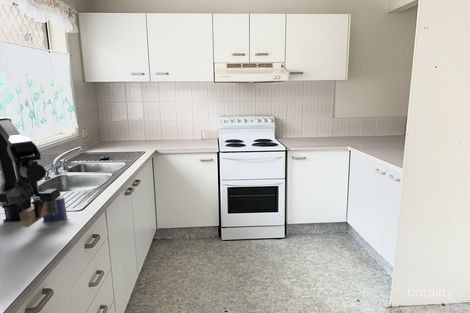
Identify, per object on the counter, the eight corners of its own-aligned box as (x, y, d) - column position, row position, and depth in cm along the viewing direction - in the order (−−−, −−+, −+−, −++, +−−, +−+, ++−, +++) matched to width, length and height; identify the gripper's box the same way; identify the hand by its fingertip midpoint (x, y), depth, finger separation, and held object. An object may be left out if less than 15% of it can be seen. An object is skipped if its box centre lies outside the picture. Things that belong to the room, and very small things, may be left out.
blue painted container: (68, 217, 129) (64, 192, 126) (64, 220, 126) (60, 195, 123) (45, 218, 129) (41, 193, 126) (41, 221, 126) (36, 196, 123)
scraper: (36, 226, 110) (34, 210, 108) (13, 226, 110) (10, 210, 108) (57, 211, 122) (55, 197, 121) (37, 212, 122) (34, 197, 121)
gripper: (-18, 183, 103) (-9, 228, 107) (39, 182, 103) (46, 227, 106) (6, 174, 114) (14, 214, 117) (58, 173, 114) (64, 214, 117)
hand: (34, 217), depth 114 cm, fingers closed on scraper, 2 cm apart
